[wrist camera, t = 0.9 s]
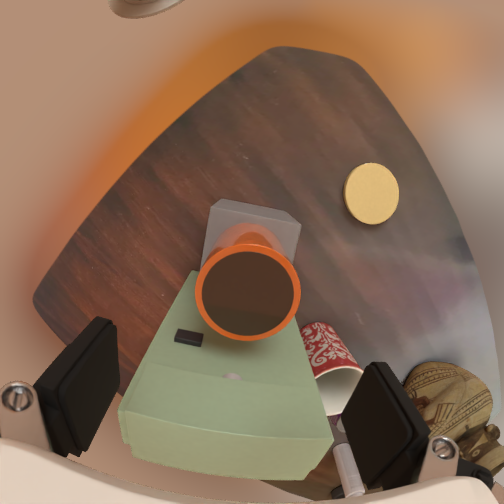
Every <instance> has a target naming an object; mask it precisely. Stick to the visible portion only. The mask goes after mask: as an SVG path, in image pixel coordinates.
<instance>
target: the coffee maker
mask: <svg viewBox="0 0 504 504" xmlns="http://www.w3.org/2000/svg"><path fill="white" fill-rule="evenodd" d="M241 223H254V224H258V225H261V226H264V227H266V228H267V229H269V230H270V231H272V232H273V233H274V234H275V235H276V236H277V238H278V239H279V241H280V242H281V244H282V246H283V248H284V250H285V252H286V254H287V256H288V258H289V259H290V261H291V263H293V259H294V255H295V251H296V246H297V242H298V238H299V234H300V230H301V224H300V223H298V222H297V221H296V220H295V219H294V218H293V217H291V216H290V215H289V214H288V213H287V212H286V211H282V210H278V209H273V208H268V207H263V206H258V205H253V204H248V203H243V202H238V201H233V200H227V199H220V200H219V201H218V202H217V203H215V204H214V205H213V206H211V207H210V213H209V219H208V224H207V230H206V236H205V242H204V248H203V254H202V261H201V267H200V270H201V268H202V266H203V264H204V262H205V260H206V258H207V256H208V254H209V252H210V250H211V248H212V246H213V244H214V242H215V240H216V239H217V238H218V236H219V235H220V234H221V233H222V232H223V231H225V230H226V229H228V228H229V227H231V226H234V225H237V224H241ZM198 275H199V271H194V270H192V271H191V272H190V274H189V276H188V278H187V279H186V281H185V283H184V285H183V286H182V288H181V290H180V292H179V293H178V295H177V297H176V299H175V300H174V302H173V304H172V306H171V308H170V309H169V311H168V313H167V315H166V317H165V318H164V320H163V322H162V324H161V326H160V328H159V329H158V331H157V333H156V335H155V337H154V339H153V341H152V342H151V344H150V346H149V348H148V350H147V352H146V354H145V356H144V358H143V359H142V361H141V363H140V365H139V367H138V369H137V371H136V373H135V375H134V377H133V379H132V381H131V383H130V385H129V387H128V389H127V391H126V393H125V395H124V397H123V399H122V401H121V403H120V405H119V407H118V409H117V412H118V418H119V424H120V429H121V434H122V440H123V443H125V444H129V445H131V451H132V456H133V457H135V458H138V459H141V460H145V461H149V462H153V463H156V464H160V465H164V466H169V467H173V468H178V469H182V470H187V471H193V472H198V473H205V474H211V475H218V476H227V477H236V478H248V479H263V480H304V478H305V477H306V476H307V474H308V473H309V472H310V470H311V469H315V467H316V466H317V465H318V463H319V462H320V461H321V459H322V458H323V456H324V455H325V453H326V452H327V451H328V449H329V448H330V446H331V445H332V443H333V442H334V438H333V435H332V432H331V428H330V425H329V422H328V419H327V415H326V412H325V409H324V406H323V403H322V399H321V396H320V393H319V390H318V387H317V384H316V380H315V377H314V374H313V371H312V368H311V365H310V362H309V359H308V356H307V353H306V350H305V346H304V343H303V340H302V337H301V334H300V331H299V328H298V325H297V322H296V319H295V316H294V317H293V318H292V320H291V321H290V322H289V323H288V324H287V325H286V326H285V327H284V328H283V329H282V330H281V331H279V332H277V333H276V334H274V335H272V336H270V337H267V338H264V339H260V340H255V341H241V340H235V339H231V338H228V337H226V336H224V335H222V334H220V333H218V332H217V331H215V330H214V329H213V328H211V327H210V326H209V325H208V324H207V323H206V322H205V320H204V319H203V317H202V316H201V314H200V312H199V310H198V307H197V304H196V300H195V285H196V280H197V277H198Z"/></svg>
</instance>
